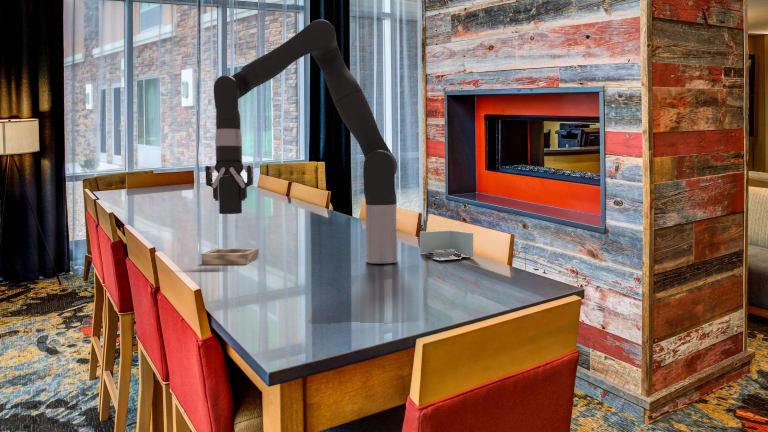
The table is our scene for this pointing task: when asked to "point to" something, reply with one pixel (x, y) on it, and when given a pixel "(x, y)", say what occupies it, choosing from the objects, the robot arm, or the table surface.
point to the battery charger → (229, 195)
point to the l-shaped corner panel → (446, 243)
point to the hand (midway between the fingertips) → (230, 200)
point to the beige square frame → (229, 256)
